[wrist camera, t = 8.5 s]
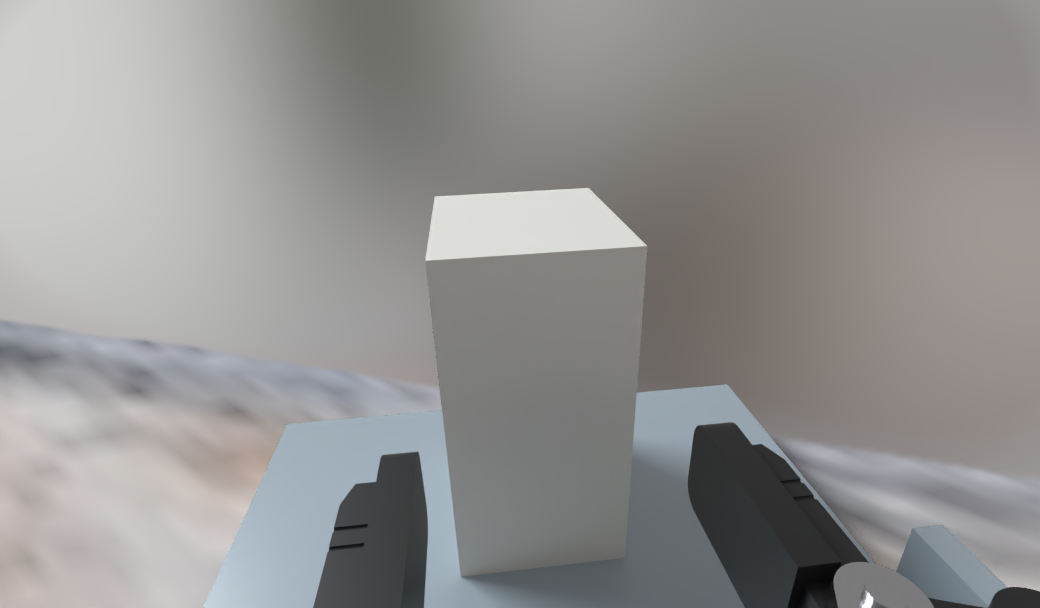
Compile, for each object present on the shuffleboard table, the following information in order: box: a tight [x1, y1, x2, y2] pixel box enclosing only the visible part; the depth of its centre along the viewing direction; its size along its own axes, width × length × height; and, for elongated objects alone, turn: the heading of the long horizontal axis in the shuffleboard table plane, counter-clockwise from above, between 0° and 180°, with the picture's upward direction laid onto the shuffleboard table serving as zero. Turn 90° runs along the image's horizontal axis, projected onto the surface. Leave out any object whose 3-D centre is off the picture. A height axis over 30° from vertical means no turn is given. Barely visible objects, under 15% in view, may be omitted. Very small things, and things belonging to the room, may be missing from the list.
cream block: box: [425, 188, 647, 577], centre depth 17 cm, size 6×5×10 cm
